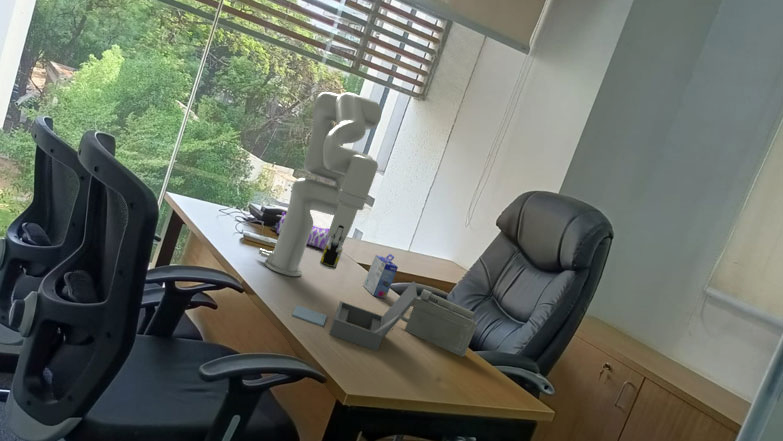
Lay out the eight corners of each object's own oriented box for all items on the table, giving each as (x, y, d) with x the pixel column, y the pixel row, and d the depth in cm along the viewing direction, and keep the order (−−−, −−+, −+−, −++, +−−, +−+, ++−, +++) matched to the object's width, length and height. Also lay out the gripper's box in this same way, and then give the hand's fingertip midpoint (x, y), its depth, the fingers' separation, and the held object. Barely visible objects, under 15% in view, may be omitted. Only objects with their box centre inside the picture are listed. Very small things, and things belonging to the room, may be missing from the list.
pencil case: (272, 233, 266) (279, 211, 265) (277, 230, 275) (284, 208, 274) (324, 253, 266) (332, 231, 265) (327, 249, 275) (335, 227, 274)
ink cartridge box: (386, 299, 233) (401, 260, 230) (373, 296, 230) (387, 257, 228) (375, 288, 241) (389, 251, 239) (362, 285, 239) (376, 248, 236)
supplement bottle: (319, 261, 187) (329, 233, 186) (335, 267, 187) (345, 239, 186) (319, 266, 182) (329, 237, 181) (335, 271, 183) (345, 243, 181)
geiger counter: (482, 313, 202) (408, 280, 209) (478, 316, 196) (402, 282, 203) (466, 354, 204) (393, 320, 211) (461, 359, 198) (386, 324, 205)
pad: (291, 315, 182) (292, 314, 182) (296, 306, 191) (297, 305, 191) (323, 326, 183) (323, 325, 183) (326, 316, 192) (327, 315, 191)
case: (328, 335, 178) (350, 274, 175) (335, 315, 196) (355, 260, 193) (394, 358, 179) (417, 298, 176) (395, 336, 197) (415, 281, 194)
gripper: (340, 191, 190) (319, 251, 193) (335, 199, 173) (312, 263, 176) (365, 200, 190) (344, 259, 193) (362, 209, 174) (339, 273, 176)
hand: (329, 261), depth 184 cm, fingers closed on supplement bottle, 4 cm apart
